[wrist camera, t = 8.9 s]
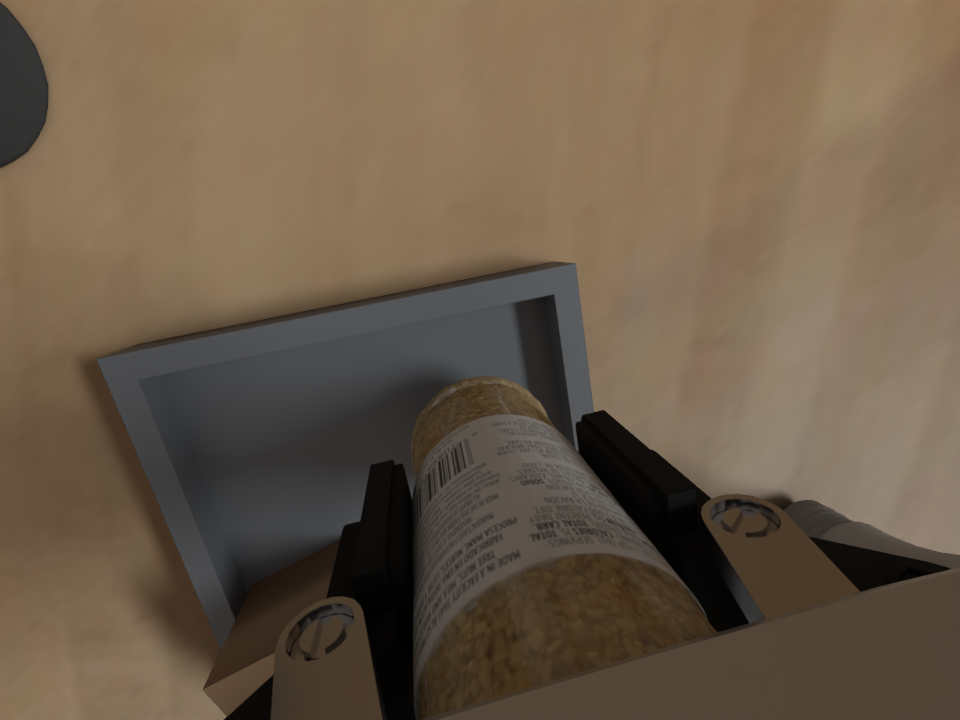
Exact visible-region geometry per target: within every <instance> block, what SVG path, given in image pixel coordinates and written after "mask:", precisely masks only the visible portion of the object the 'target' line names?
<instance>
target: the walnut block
mask: <svg viewBox="0 0 960 720" xmlns="http://www.w3.org/2000/svg"><path fill="white" fill-rule="evenodd" d="M339 542H340V540H339V541H337V542H335V543H333V544H331V545H329V546H327V547H325V548H323V549H321V550H319V551H317V552H315V553H313V554H311V555H309V556H307V557H305V558H303V559H301V560H299V561H297V562H295V563H294V564H292V565H290V566H288V567H286V568H284V569H282V570H280V571H278V572H276V573H274V574H272V575H270V576H268V577H266V578H264V579H262V580H260V581H258V582H256V583H254V584H252V586H251V588H250V590H249V592H248V594H247V597H246V599H245V601H244V603H243V605H242V607H241V609H240V611H239V614H238V616H237V618H236V620H235V622H234V624H233V626H232V628H231V631H230V633H229V635H228V637H227V639H226V641H225V643H224V645H223V648H222V650H221V652H220V654H219V656H218V658H217V660H216V662H215V665H214V667H213V669H212V671H211V673H210V675H209V677H208V679H207V682H206V684H205V686H204V688H203V691H204V692H205V693H206V694H207V695H208V696H209V697H210V698H211V700H212V701H213V702H214V703H215V704H216V705H217V706H218V707H219V708H220V709H221V710H222V712H223V713H224V714H225V715H226V716H229V715H230V714H231V713H232V712H233V711H234V710H235V709H236V708H237V707H238V706H239V705H241V704H242V703H243V702H244V701H245V700H246V699H247V698H248V697H249V696H250V695H252V694H253V693H254V692H255V691H256V690H257V689H258V688H259V687H260V686H261V685H262V684H264V683H265V682H266V681H267V680H268V679H269V678H270V677H271V676H272V675H273V674H274V661H275V649H276V645H277V641H278V638H279V637H280V635H281V633H282V631H283V630H284V628H285V627H286V626H287V625H288V623H289V622H290V621H291V620H292V619H293V618H294V617H295V616H296V615H298V614H299V613H300V612H301V611H303V610H304V609H305V608H307V607H309V606H311V605H313V604H314V603H316V602H318V601H321V600H324V599H326V596H327V592H328V588H329V584H330V580H331V576H332V571H333V567H334V563H335V559H336V555H337V550H338V546H339Z"/></svg>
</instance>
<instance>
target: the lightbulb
mask: <svg viewBox="0 0 960 720" xmlns="http://www.w3.org/2000/svg"><path fill="white" fill-rule="evenodd" d="M783 511H784V512H785V513H786V514H787V515H788V516H789V517H790V518H791V519H792V520H793V521H794V522H795V523H796V524H797V525H798V526H799V527H800V528H801V530H802V531H803V532H804V533H805V534H806V535H807V536H809V537H814V538H819V539H823V540H828V541H833V542H838V543H842V544H847V545H852V546H856V547H861V548H866V549H870V550H875V551H880V552H884V553H889V554H894V555H899V556H903V557H908V558H913V559H917V560H922V561H927V562H931V563H934V564H938V565H941V566H945V567H948V568H950V569H955V568H960V555H956V554H948V553H941V552H937V551H933V550H929V549H926V548H922V547H918V546H915V545H913V544H910V543H908V542H905V541H903V540H900V539H898V538H895V537H893V536H890V535H888V534H886V533H884V532H883V531H881V530H879V529H877V528H875V527H873V526H871V525H869V524H866V523H862V522H853V521H851V520H849V519H848V518H846V517H845V516H844V515H842V514H840V513H838V512H836V511H834V510H833V509H831V508H829V507H826V506H824V505H822V504H820V503H819V502H817V501H813V500H802V501H798V502H795V503H793V504H791V505H789V506H788V507H787V508H785V509H784V510H783Z"/></svg>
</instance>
